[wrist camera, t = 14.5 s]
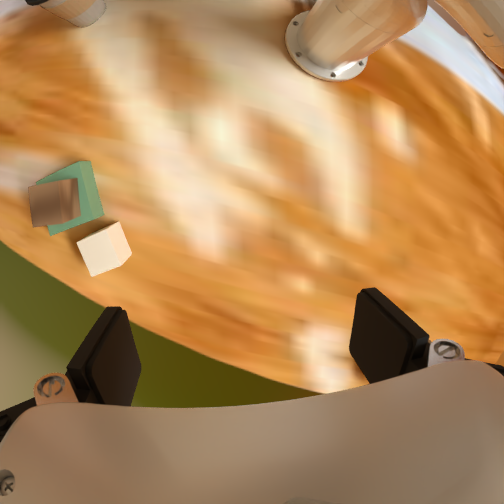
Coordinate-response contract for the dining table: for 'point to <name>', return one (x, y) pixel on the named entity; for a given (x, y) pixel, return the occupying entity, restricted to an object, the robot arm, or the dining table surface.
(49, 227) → the green base
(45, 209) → the walnut cube
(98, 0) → the coffee cup
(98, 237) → the cream cube
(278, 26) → the dining table surface
